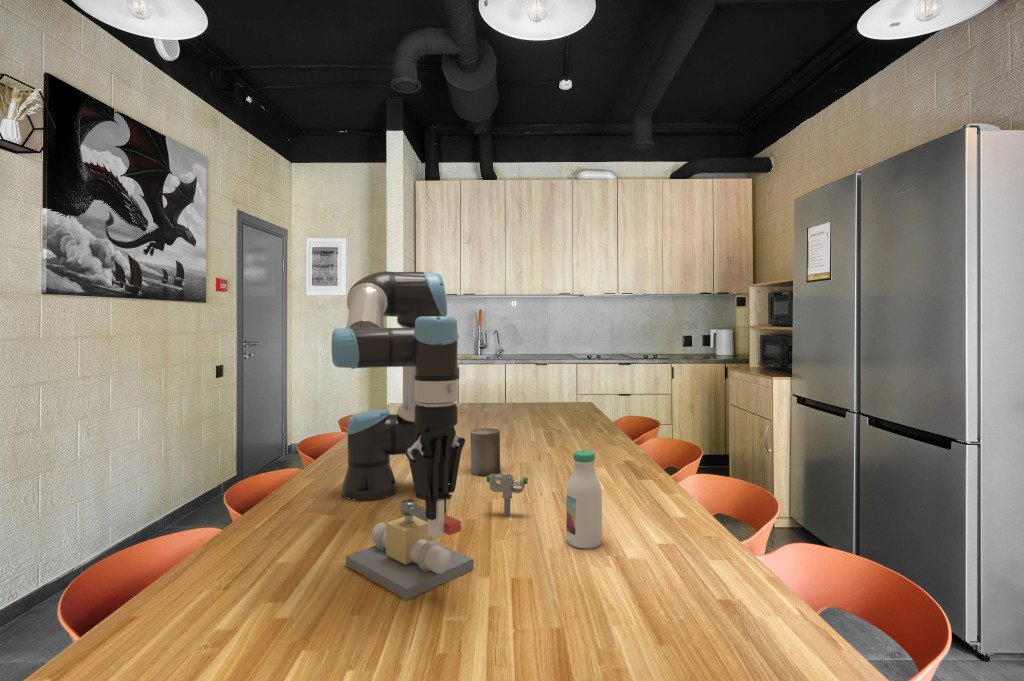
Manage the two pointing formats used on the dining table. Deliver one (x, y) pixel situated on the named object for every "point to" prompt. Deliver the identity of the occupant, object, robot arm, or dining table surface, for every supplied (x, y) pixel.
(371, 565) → the pipe valve base
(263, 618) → the dining table surface
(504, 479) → the mechanical component
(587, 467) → the milk bottle
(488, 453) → the pillar candle
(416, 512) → the valve lever
